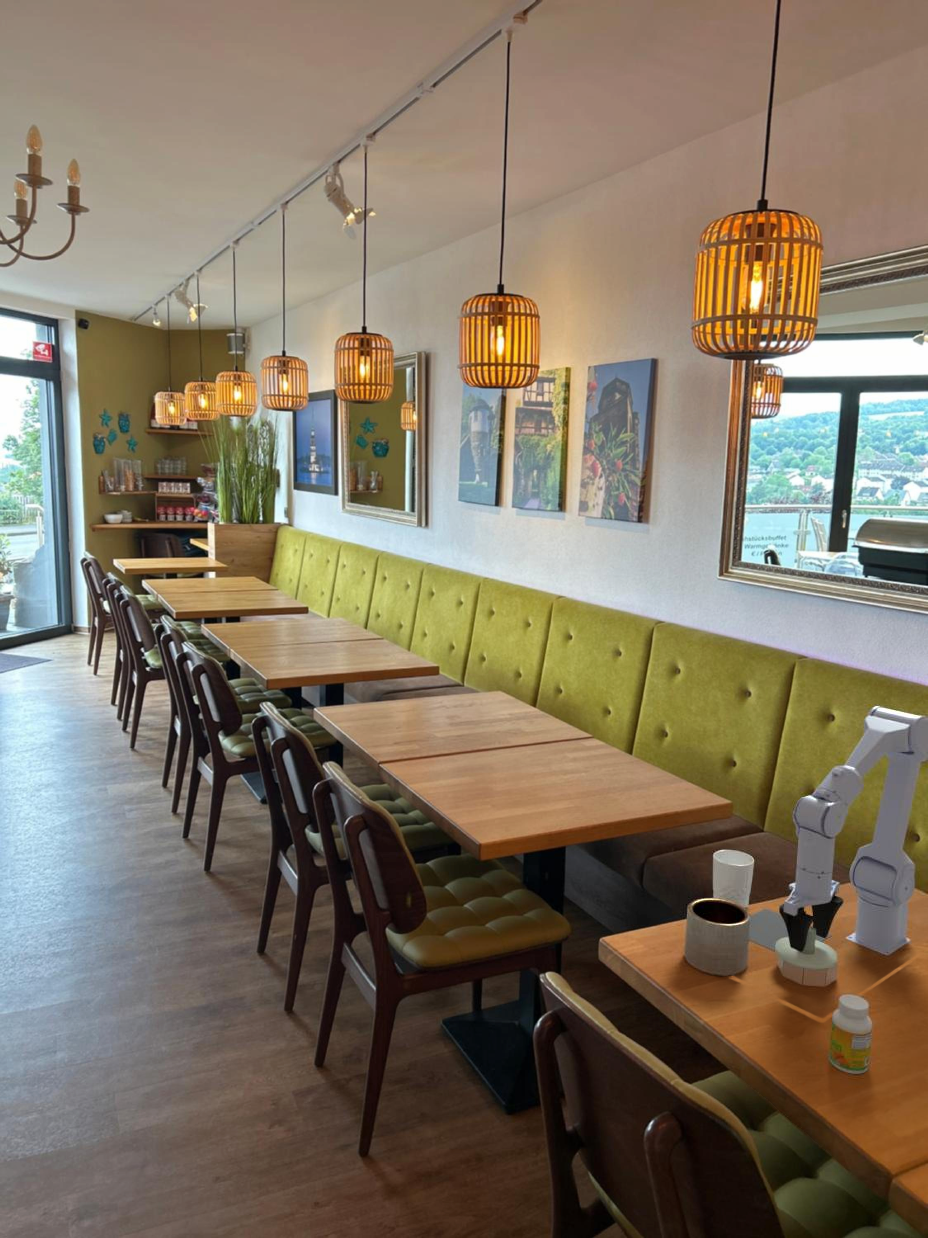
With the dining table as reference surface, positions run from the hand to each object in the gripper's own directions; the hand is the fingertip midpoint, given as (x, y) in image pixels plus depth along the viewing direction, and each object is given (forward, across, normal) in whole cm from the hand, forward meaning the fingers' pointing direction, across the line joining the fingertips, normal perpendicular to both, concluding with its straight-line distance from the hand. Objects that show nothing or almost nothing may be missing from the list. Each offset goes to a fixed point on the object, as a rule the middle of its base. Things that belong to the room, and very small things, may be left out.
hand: (808, 942), depth 156 cm
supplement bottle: (+6, +18, +17) cm, 26 cm away
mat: (+6, -9, -11) cm, 15 cm away
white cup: (+6, -13, -24) cm, 28 cm away
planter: (+6, +9, -12) cm, 16 cm away
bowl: (+6, 0, 0) cm, 6 cm away
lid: (+2, 0, 0) cm, 3 cm away
